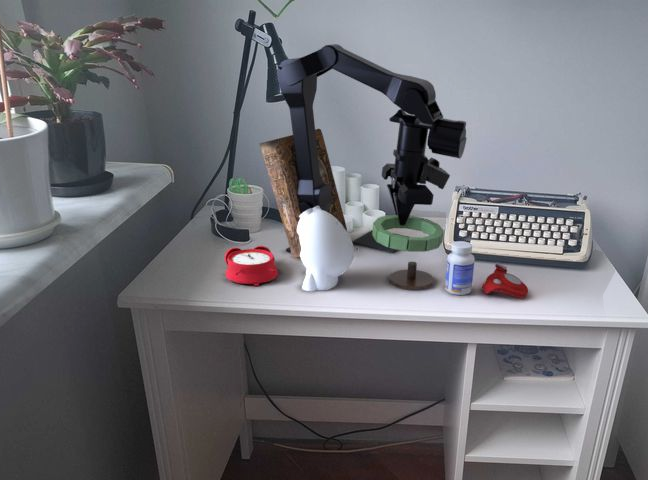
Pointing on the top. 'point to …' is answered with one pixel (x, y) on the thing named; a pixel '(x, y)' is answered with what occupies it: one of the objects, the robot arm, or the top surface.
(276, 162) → the book
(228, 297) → the top surface
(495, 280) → the tracker holder
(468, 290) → the pill bottle
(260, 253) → the alarm clock
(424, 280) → the ring stand
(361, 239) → the mat
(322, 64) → the robot arm
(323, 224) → the figurine
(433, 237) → the ring
